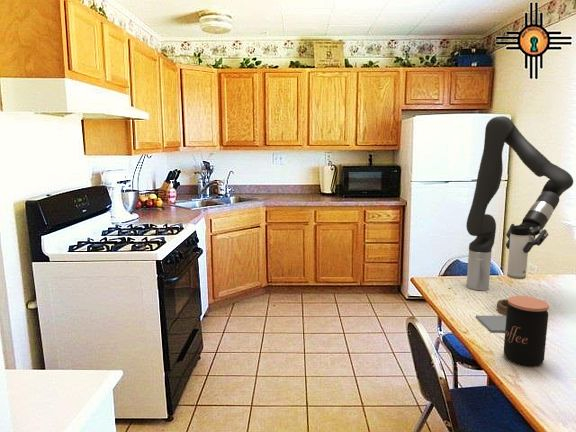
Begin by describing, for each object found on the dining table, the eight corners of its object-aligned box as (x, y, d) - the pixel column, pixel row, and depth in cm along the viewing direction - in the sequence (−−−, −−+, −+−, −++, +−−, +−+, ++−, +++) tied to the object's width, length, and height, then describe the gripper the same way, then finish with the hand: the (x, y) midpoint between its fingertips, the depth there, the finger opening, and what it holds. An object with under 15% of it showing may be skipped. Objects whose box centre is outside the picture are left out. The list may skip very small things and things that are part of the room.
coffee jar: (496, 351, 134) (500, 296, 131) (528, 349, 134) (533, 295, 132) (516, 369, 123) (522, 309, 120) (552, 367, 124) (558, 307, 121)
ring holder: (491, 306, 171) (492, 299, 170) (520, 306, 170) (521, 299, 170) (505, 317, 159) (506, 310, 159) (536, 318, 159) (537, 310, 159)
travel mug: (529, 280, 159) (533, 227, 156) (509, 279, 160) (514, 226, 157) (523, 274, 165) (528, 223, 162) (504, 274, 166) (509, 223, 163)
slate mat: (475, 317, 160) (475, 315, 160) (511, 317, 160) (511, 315, 159) (490, 332, 147) (491, 330, 147) (529, 332, 147) (529, 330, 147)
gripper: (516, 207, 168) (494, 239, 165) (553, 212, 156) (530, 247, 152) (523, 219, 172) (502, 251, 168) (560, 225, 159) (538, 260, 156)
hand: (516, 249), depth 160 cm, fingers closed on travel mug, 6 cm apart
